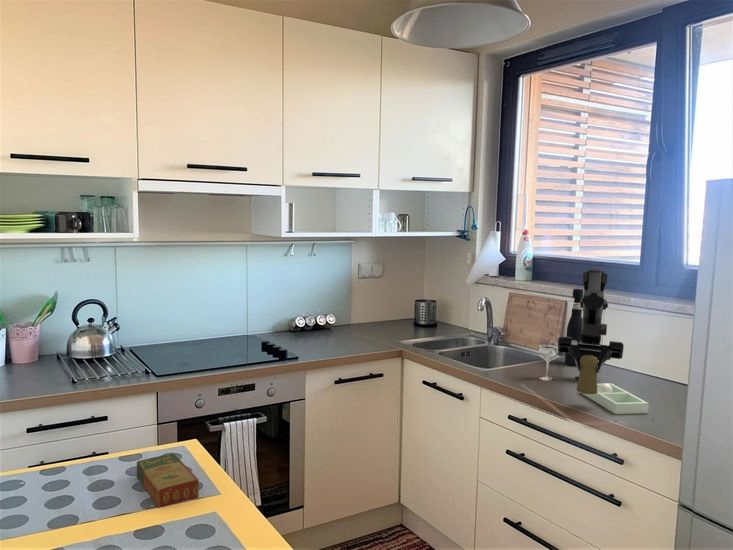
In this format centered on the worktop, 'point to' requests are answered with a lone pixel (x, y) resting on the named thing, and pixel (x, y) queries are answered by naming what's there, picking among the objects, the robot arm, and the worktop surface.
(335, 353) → the worktop surface
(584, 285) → the robot arm
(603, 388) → the egg
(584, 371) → the cork
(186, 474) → the carton
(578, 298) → the wine bottle
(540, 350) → the wineglass
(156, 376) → the worktop surface
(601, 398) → the green divided tray
